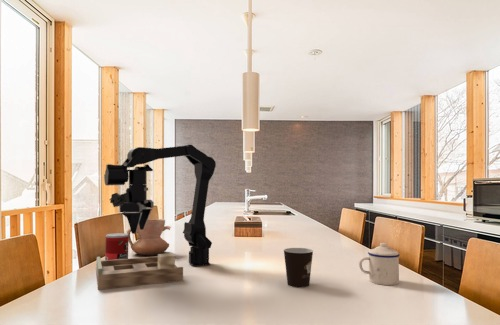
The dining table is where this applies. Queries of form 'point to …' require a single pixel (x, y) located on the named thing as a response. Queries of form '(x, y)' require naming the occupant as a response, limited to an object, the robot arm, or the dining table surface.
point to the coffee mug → (298, 266)
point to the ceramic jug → (150, 238)
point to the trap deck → (134, 272)
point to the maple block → (166, 261)
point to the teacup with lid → (382, 265)
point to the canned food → (116, 246)
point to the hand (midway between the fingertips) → (137, 231)
